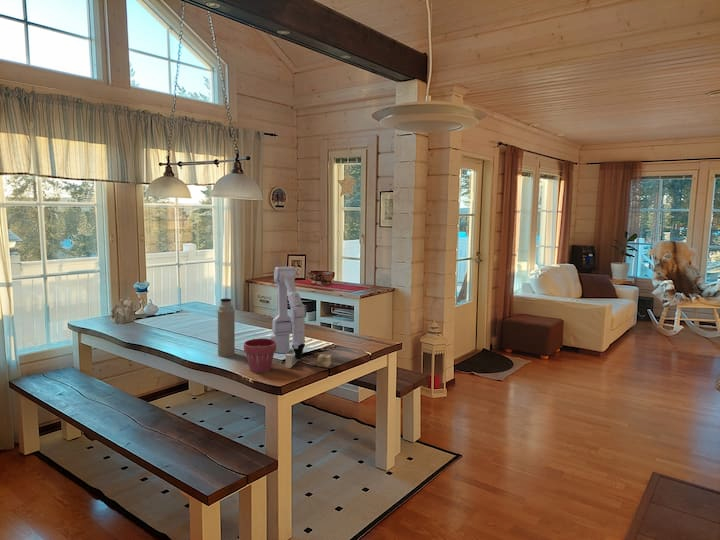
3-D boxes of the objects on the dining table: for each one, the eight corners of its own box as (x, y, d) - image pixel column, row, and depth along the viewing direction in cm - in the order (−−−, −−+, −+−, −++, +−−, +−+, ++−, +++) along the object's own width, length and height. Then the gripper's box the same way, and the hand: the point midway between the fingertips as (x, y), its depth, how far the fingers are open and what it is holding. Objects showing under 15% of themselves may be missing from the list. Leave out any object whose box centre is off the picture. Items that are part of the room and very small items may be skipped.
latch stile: (283, 367, 228) (283, 354, 227) (288, 363, 235) (288, 350, 234) (290, 368, 227) (290, 355, 227) (295, 363, 234) (295, 351, 233)
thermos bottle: (234, 351, 250) (234, 297, 247) (235, 356, 242) (234, 300, 239) (217, 352, 248) (217, 297, 244) (218, 357, 240) (217, 300, 237)
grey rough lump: (119, 316, 321) (118, 294, 318) (140, 319, 316) (139, 296, 313) (100, 323, 306) (99, 299, 303) (122, 326, 301) (121, 302, 298)
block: (317, 366, 231) (317, 356, 231) (320, 363, 236) (320, 354, 236) (327, 367, 230) (328, 357, 230) (330, 364, 235) (331, 354, 234)
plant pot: (238, 373, 218) (238, 345, 217) (251, 363, 232) (251, 337, 230) (269, 376, 215) (269, 347, 214) (280, 366, 229) (280, 339, 227)
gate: (295, 360, 239) (295, 351, 238) (297, 360, 239) (298, 351, 238) (290, 365, 230) (290, 356, 230) (293, 365, 230) (293, 356, 229)
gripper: (293, 327, 240) (293, 354, 241) (286, 335, 225) (287, 363, 227) (307, 327, 239) (307, 355, 241) (302, 335, 225) (302, 364, 227)
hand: (298, 359), depth 234 cm, fingers closed, pressing on gate
